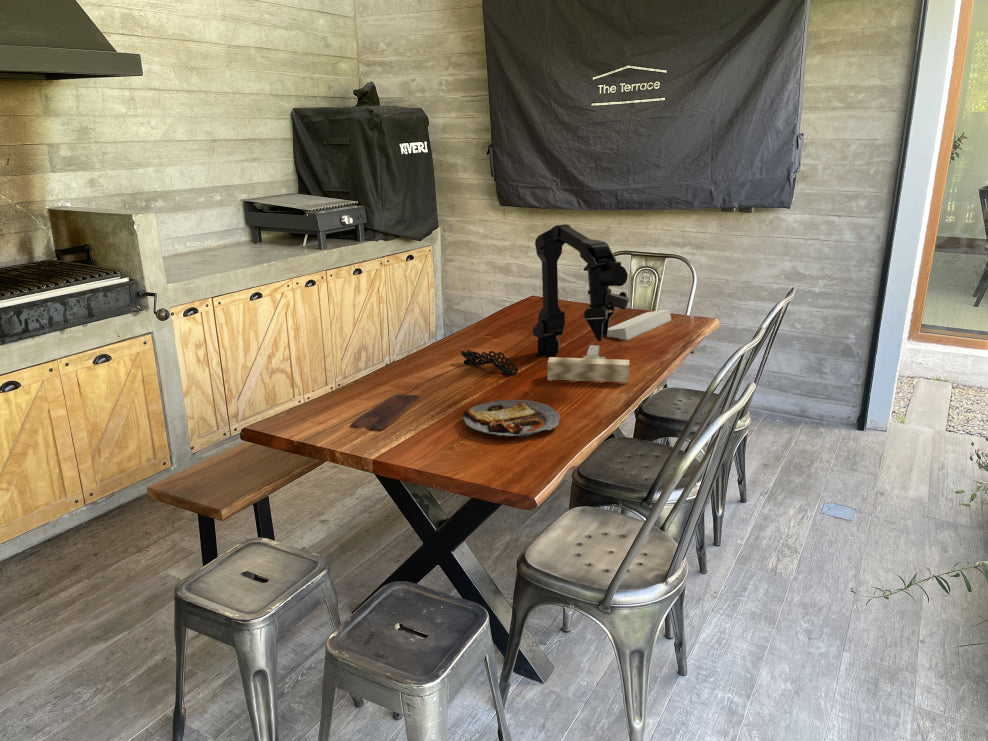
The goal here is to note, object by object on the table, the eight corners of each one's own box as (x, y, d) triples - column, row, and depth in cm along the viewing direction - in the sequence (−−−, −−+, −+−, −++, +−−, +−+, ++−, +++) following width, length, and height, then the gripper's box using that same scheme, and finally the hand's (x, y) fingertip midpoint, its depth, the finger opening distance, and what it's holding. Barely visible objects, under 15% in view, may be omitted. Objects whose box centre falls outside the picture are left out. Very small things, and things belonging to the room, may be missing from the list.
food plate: (483, 447, 179) (483, 434, 177) (449, 416, 199) (449, 403, 198) (575, 432, 188) (575, 419, 187) (533, 403, 208) (534, 391, 207)
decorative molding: (603, 344, 271) (627, 341, 264) (601, 331, 270) (624, 328, 264) (648, 324, 296) (671, 321, 289) (646, 312, 295) (669, 309, 289)
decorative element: (520, 374, 231) (520, 356, 229) (510, 378, 228) (510, 359, 226) (467, 361, 246) (467, 343, 244) (457, 364, 242) (456, 346, 240)
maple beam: (547, 381, 225) (547, 362, 223) (549, 375, 230) (549, 357, 228) (628, 384, 221) (629, 365, 219) (628, 378, 226) (629, 359, 224)
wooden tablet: (393, 390, 216) (424, 389, 212) (394, 397, 216) (426, 397, 213) (347, 424, 192) (381, 424, 189) (348, 432, 193) (383, 432, 189)
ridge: (579, 370, 233) (579, 354, 232) (583, 358, 244) (584, 344, 243) (602, 371, 232) (602, 355, 230) (605, 359, 243) (605, 345, 241)
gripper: (621, 286, 208) (624, 342, 211) (631, 281, 226) (634, 332, 228) (581, 289, 212) (585, 344, 215) (594, 283, 229) (598, 334, 232)
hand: (602, 338), depth 222 cm, fingers open, 9 cm apart
